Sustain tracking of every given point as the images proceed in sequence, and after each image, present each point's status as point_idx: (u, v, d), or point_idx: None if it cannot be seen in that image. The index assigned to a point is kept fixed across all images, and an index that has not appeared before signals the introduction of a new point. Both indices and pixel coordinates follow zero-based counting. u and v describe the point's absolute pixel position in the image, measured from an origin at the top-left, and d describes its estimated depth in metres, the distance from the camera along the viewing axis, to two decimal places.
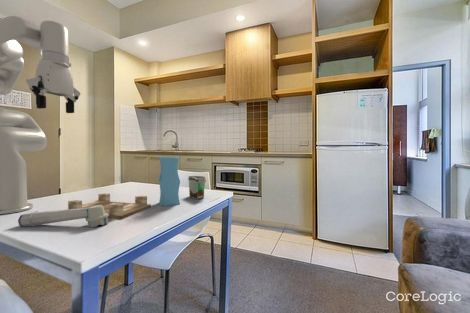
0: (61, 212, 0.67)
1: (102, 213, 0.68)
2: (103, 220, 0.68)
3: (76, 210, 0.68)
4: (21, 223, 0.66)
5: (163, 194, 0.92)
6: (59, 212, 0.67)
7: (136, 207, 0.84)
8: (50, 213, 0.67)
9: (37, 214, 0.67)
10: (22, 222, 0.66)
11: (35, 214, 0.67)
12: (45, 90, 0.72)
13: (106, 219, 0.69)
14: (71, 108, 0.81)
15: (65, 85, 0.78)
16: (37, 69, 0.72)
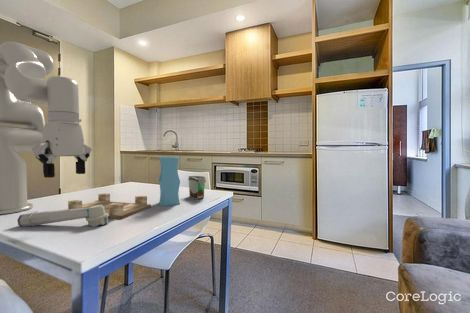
0: (61, 212, 0.67)
1: (102, 213, 0.68)
2: (104, 220, 0.68)
3: (76, 210, 0.68)
4: (20, 223, 0.66)
5: (163, 194, 0.92)
6: (59, 212, 0.67)
7: (136, 207, 0.84)
8: (50, 213, 0.67)
9: (37, 214, 0.67)
10: (21, 222, 0.66)
11: (35, 214, 0.67)
12: (53, 157, 0.63)
13: (106, 219, 0.69)
14: (82, 169, 0.72)
15: (75, 146, 0.69)
16: (44, 133, 0.63)
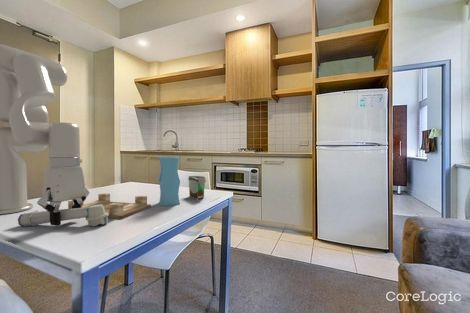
0: (61, 211, 0.67)
1: (102, 213, 0.68)
2: (103, 219, 0.68)
3: (76, 209, 0.68)
4: (21, 222, 0.66)
5: (163, 194, 0.92)
6: (59, 211, 0.67)
7: (136, 207, 0.84)
8: None
9: (37, 213, 0.67)
10: (22, 221, 0.66)
11: (35, 213, 0.67)
12: (58, 204, 0.65)
13: (106, 218, 0.69)
14: None
15: (76, 189, 0.69)
16: (45, 179, 0.64)
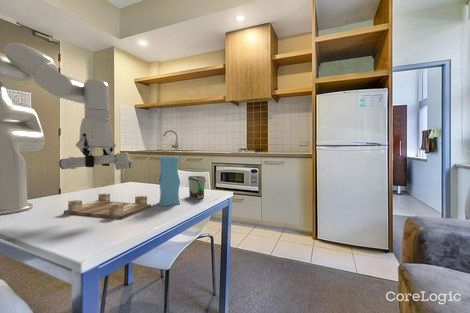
0: None
1: (127, 159, 0.78)
2: (128, 164, 0.78)
3: (106, 155, 0.79)
4: (61, 165, 0.78)
5: (163, 194, 0.92)
6: None
7: (136, 207, 0.84)
8: (84, 157, 0.79)
9: (74, 158, 0.79)
10: (62, 164, 0.78)
11: (72, 158, 0.79)
12: (92, 149, 0.76)
13: (131, 164, 0.79)
14: None
15: (106, 138, 0.80)
16: (81, 127, 0.75)
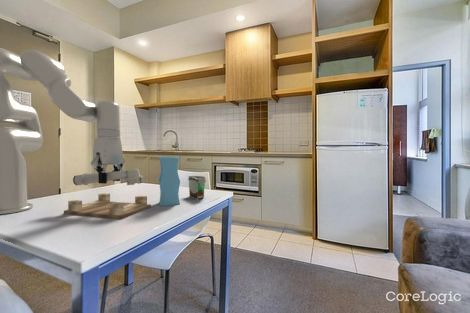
0: None
1: (138, 175, 0.84)
2: (139, 180, 0.84)
3: (117, 172, 0.84)
4: (75, 181, 0.83)
5: (163, 194, 0.92)
6: None
7: (136, 207, 0.84)
8: (97, 174, 0.84)
9: (87, 175, 0.84)
10: (76, 181, 0.83)
11: (85, 175, 0.84)
12: (105, 166, 0.81)
13: (141, 179, 0.85)
14: None
15: (117, 156, 0.85)
16: (95, 146, 0.80)
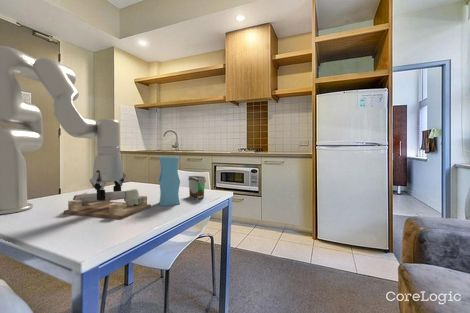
0: (105, 193, 0.84)
1: (137, 195, 0.84)
2: (137, 201, 0.83)
3: (117, 192, 0.84)
4: None
5: (163, 194, 0.92)
6: None
7: (136, 207, 0.84)
8: None
9: (87, 195, 0.84)
10: None
11: (85, 195, 0.84)
12: (104, 184, 0.81)
13: (140, 200, 0.84)
14: None
15: (117, 172, 0.85)
16: (95, 164, 0.80)
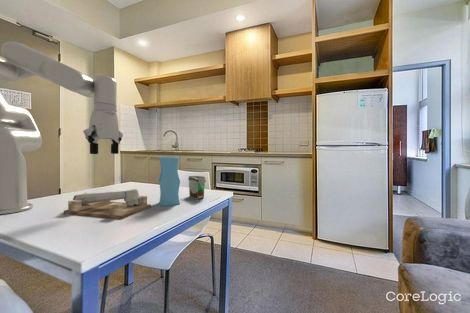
0: (105, 193, 0.84)
1: (137, 195, 0.84)
2: (137, 201, 0.83)
3: (117, 192, 0.84)
4: None
5: (163, 194, 0.92)
6: (104, 193, 0.84)
7: (136, 207, 0.84)
8: (97, 194, 0.84)
9: (87, 195, 0.84)
10: None
11: (85, 195, 0.84)
12: (98, 138, 0.81)
13: (140, 200, 0.84)
14: (116, 150, 0.90)
15: (113, 131, 0.87)
16: (91, 119, 0.81)
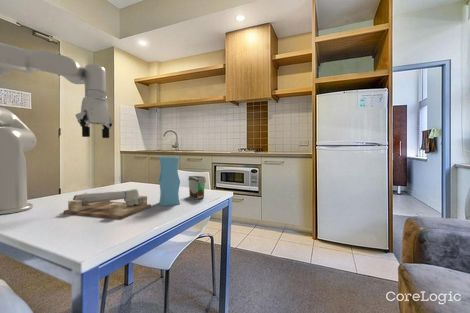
0: (105, 193, 0.84)
1: (137, 195, 0.84)
2: (137, 201, 0.83)
3: (117, 192, 0.84)
4: None
5: (163, 194, 0.92)
6: (104, 193, 0.84)
7: (136, 207, 0.84)
8: (97, 194, 0.84)
9: (87, 195, 0.84)
10: None
11: (85, 195, 0.84)
12: (89, 122, 0.88)
13: (140, 200, 0.84)
14: (107, 134, 0.97)
15: (103, 116, 0.93)
16: (82, 104, 0.88)
